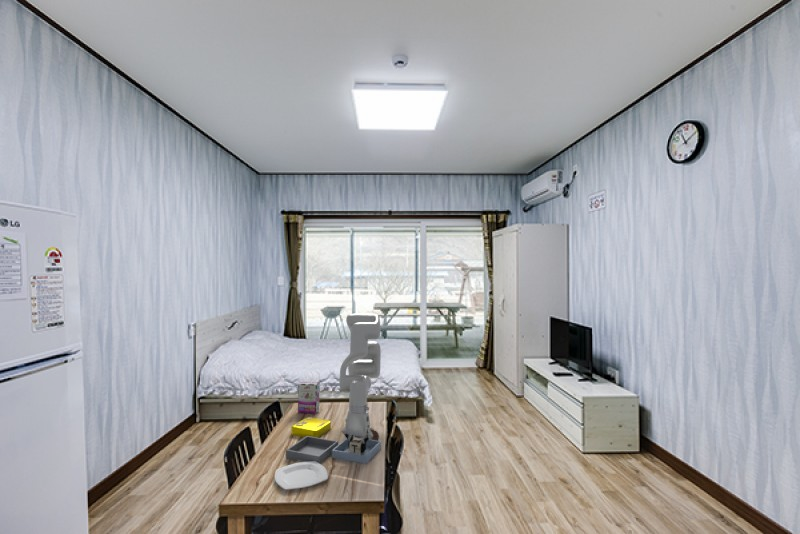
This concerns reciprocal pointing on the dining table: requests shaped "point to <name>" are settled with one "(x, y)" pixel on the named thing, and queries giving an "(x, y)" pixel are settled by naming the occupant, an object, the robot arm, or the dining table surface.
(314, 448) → the charcoal bin
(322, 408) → the dining table surface
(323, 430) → the element tile
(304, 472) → the plate
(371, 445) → the slate bin
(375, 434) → the bread
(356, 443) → the letter cube
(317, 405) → the candy bar box
